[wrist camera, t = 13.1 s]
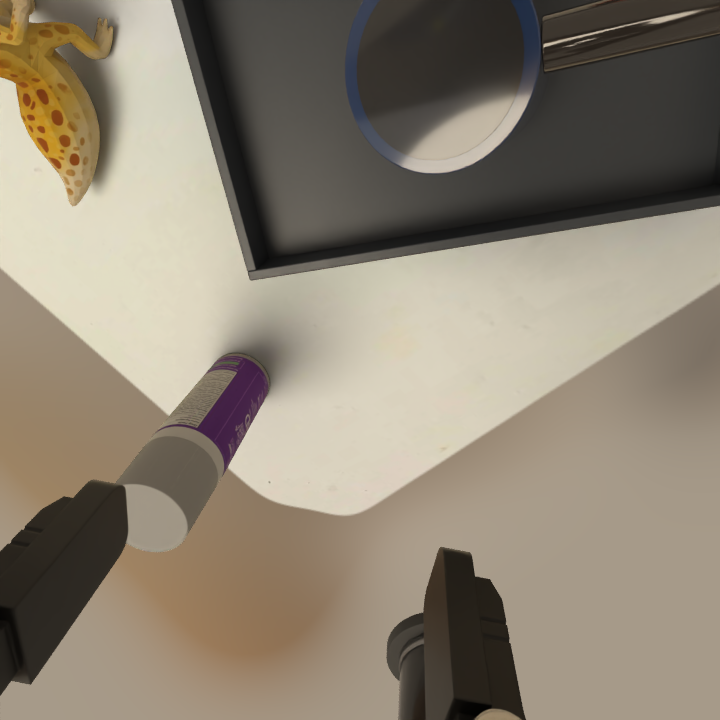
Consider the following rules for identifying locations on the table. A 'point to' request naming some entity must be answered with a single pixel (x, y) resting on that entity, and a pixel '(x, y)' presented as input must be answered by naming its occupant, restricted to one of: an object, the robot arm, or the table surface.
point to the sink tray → (424, 191)
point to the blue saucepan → (487, 66)
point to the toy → (53, 90)
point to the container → (191, 453)
